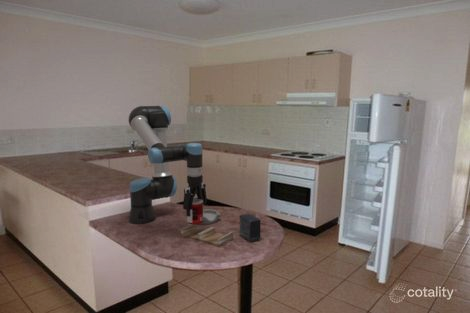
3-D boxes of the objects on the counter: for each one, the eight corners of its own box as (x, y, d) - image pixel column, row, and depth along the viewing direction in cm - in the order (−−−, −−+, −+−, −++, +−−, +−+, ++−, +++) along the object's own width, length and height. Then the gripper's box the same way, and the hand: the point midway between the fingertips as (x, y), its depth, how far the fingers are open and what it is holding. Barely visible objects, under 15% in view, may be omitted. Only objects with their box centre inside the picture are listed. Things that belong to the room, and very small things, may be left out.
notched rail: (181, 236, 165) (180, 229, 164) (195, 229, 174) (195, 222, 173) (219, 247, 152) (219, 239, 151) (233, 239, 161) (232, 232, 160)
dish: (222, 219, 189) (222, 211, 188) (207, 227, 177) (207, 218, 176) (203, 215, 196) (202, 207, 196) (187, 222, 185) (187, 213, 184)
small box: (261, 240, 159) (261, 219, 157) (249, 242, 156) (249, 221, 154) (250, 232, 168) (250, 213, 167) (239, 235, 165) (238, 215, 164)
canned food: (201, 218, 170) (201, 197, 168) (204, 223, 163) (204, 202, 161) (186, 219, 168) (186, 198, 166) (189, 225, 160) (188, 203, 158)
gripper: (186, 180, 150) (187, 227, 154) (214, 172, 167) (214, 215, 171) (174, 178, 155) (175, 224, 159) (202, 170, 171) (203, 212, 175)
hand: (195, 219), depth 165 cm, fingers closed on canned food, 8 cm apart
